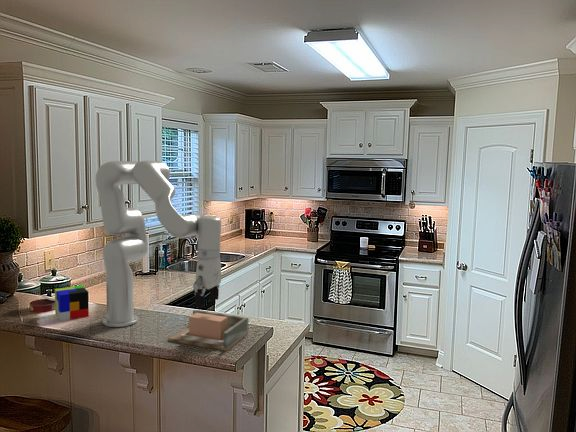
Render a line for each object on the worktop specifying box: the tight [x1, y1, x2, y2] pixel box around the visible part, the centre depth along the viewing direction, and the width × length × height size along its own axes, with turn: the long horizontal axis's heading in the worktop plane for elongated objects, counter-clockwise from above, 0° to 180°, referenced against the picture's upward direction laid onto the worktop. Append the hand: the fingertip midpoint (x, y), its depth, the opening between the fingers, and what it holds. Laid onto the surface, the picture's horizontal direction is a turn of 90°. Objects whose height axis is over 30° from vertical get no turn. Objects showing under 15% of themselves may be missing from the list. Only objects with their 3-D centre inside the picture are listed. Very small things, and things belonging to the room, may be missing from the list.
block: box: [188, 313, 228, 341], centre depth 162 cm, size 12×5×7 cm, turn 71°
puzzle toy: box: [54, 285, 90, 322], centre depth 184 cm, size 10×10×10 cm
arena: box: [167, 309, 250, 352], centre depth 165 cm, size 22×17×6 cm
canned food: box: [29, 289, 55, 314], centre depth 191 cm, size 11×10×10 cm
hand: (207, 302), depth 161 cm, fingers open, 9 cm apart
